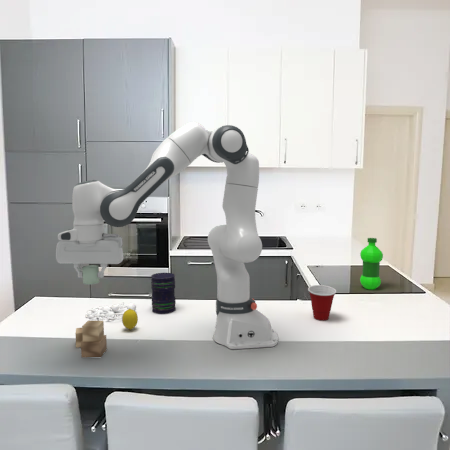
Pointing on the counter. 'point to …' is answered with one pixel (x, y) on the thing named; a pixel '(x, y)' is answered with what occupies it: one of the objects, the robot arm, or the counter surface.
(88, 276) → the sage green cylinder
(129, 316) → the lemon
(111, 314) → the tangled rod sculpture
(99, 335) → the tower block top
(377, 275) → the plastic bottle
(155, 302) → the storage jar
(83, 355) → the tower block base
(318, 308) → the plastic cup
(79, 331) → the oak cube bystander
